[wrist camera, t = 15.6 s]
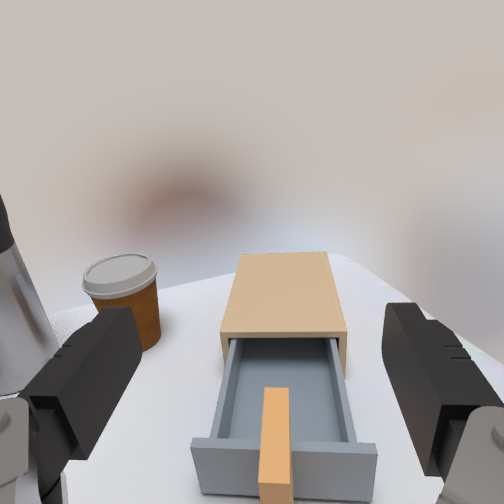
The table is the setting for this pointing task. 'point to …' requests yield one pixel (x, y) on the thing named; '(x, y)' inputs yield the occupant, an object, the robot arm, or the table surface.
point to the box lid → (284, 300)
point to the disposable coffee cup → (127, 290)
